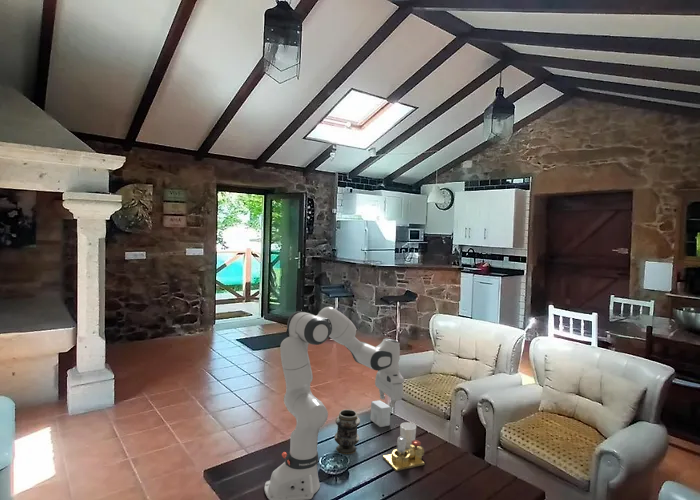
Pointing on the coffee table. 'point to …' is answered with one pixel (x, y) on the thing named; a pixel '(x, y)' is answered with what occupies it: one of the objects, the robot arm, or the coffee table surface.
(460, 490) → the coffee table surface
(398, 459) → the brass valve fitting
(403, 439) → the silver metal cylinder
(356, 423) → the apothecary jar
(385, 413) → the skincare box
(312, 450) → the robot arm
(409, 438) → the white cup
